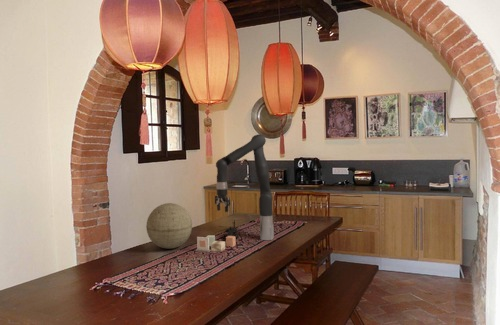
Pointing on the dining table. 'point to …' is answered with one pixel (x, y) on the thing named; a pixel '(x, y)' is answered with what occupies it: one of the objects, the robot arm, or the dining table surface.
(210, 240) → the sage block
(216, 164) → the robot arm
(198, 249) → the board
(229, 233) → the helicopter
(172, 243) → the celestial globe
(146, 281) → the dining table surface
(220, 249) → the beech base block
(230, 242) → the terracotta block
